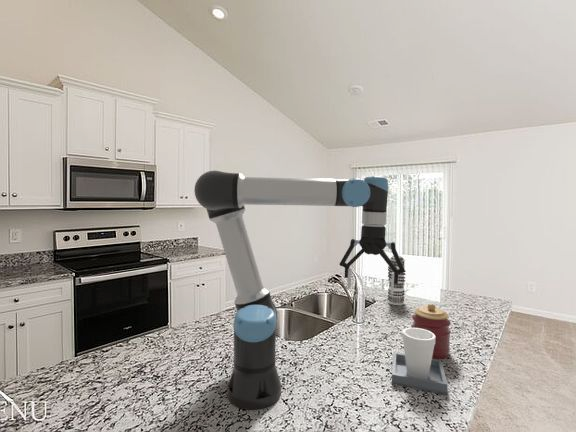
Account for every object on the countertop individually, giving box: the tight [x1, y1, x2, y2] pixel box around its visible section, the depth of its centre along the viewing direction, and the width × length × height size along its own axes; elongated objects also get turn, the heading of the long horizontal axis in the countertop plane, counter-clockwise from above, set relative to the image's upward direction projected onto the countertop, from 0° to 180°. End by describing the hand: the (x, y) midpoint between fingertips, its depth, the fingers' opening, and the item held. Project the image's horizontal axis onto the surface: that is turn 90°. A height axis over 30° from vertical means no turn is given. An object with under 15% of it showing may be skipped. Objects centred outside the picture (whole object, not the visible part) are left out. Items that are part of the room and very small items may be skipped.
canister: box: [411, 303, 452, 360], centre depth 118 cm, size 13×13×18 cm
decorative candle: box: [387, 255, 406, 306], centre depth 174 cm, size 9×9×25 cm
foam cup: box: [402, 327, 436, 379], centre depth 101 cm, size 10×9×13 cm
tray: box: [391, 352, 448, 396], centre depth 101 cm, size 15×15×3 cm
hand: (369, 290), depth 104 cm, fingers open, 13 cm apart
